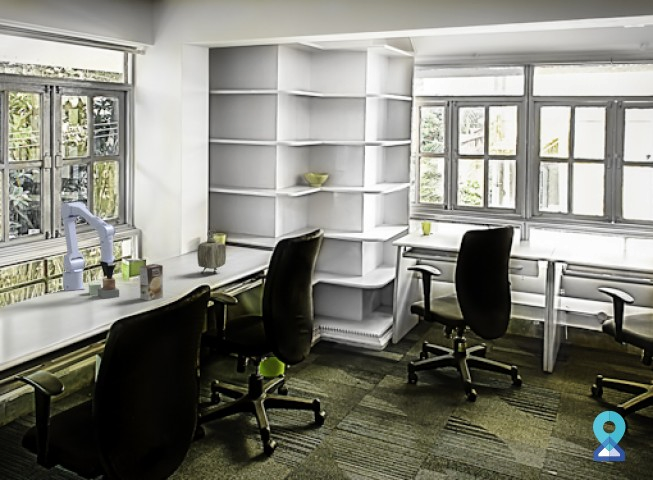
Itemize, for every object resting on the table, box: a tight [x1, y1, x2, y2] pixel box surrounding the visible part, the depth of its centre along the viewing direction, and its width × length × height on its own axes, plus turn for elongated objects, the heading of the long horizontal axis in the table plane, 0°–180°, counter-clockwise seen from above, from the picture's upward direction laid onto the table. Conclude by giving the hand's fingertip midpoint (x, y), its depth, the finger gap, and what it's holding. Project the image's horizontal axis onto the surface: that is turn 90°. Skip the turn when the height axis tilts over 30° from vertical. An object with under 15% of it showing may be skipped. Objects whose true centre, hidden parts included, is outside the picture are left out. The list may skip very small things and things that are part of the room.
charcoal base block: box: [97, 286, 120, 300], centre depth 353 cm, size 8×8×4 cm
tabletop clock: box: [196, 229, 227, 275], centre depth 405 cm, size 14×9×25 cm, turn 145°
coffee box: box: [139, 263, 164, 302], centre depth 350 cm, size 9×6×16 cm
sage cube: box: [88, 282, 102, 296], centre depth 357 cm, size 5×5×5 cm
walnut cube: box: [102, 276, 116, 291], centre depth 352 cm, size 5×5×5 cm
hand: (107, 277), depth 352 cm, fingers open, 7 cm apart
